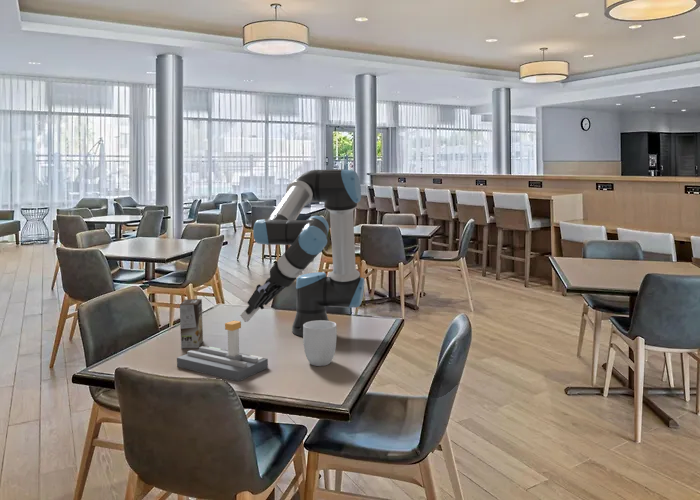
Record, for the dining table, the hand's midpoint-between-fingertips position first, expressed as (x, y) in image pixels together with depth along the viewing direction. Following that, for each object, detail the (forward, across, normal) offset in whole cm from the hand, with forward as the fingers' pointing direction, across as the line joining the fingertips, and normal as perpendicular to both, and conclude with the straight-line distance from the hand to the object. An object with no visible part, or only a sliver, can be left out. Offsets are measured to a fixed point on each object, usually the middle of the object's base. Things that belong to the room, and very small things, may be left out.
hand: (244, 318), depth 174 cm
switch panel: (+20, +1, -5) cm, 20 cm away
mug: (+3, +21, -22) cm, 31 cm away
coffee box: (+38, +13, +14) cm, 43 cm away
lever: (+14, +1, -6) cm, 15 cm away
